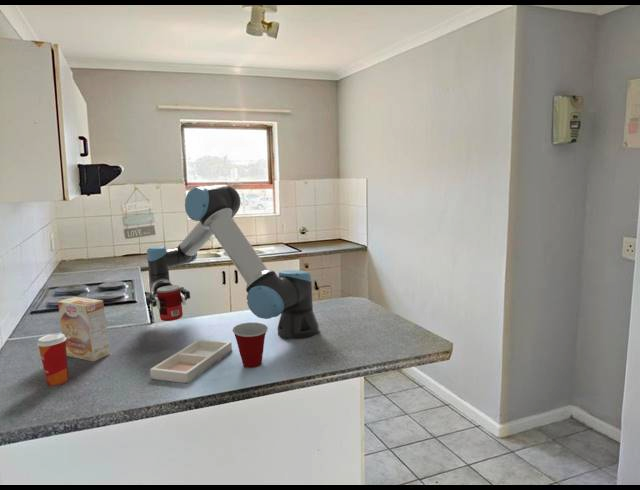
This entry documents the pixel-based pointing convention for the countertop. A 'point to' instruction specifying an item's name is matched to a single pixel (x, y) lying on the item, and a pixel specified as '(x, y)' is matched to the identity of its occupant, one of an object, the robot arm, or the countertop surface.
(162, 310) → the canned food
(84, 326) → the coffeecake box
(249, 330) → the plastic cup
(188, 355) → the divided tray
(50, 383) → the paper cup
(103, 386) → the countertop surface
